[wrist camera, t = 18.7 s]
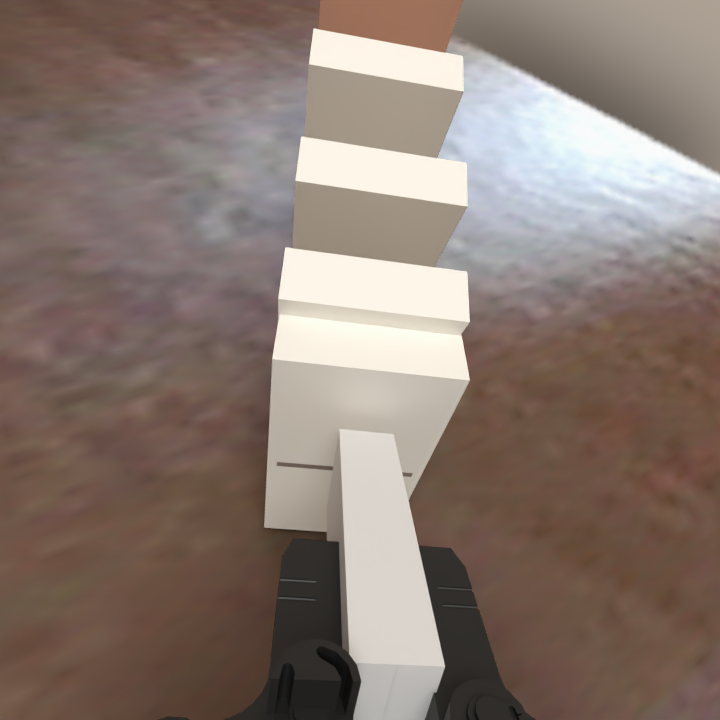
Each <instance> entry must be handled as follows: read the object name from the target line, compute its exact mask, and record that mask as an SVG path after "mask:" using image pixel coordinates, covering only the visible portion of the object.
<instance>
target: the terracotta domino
mask: <svg viewBox="0 0 720 720" xmlns="http://www.w3.org/2000/svg"><path fill="white" fill-rule="evenodd" d="M462 1H463V0H321V5H320V18H319V30H325V31H330V32H335V33H341V34H346V35H352V36H357V37H362V38H368V39H373V40H379V41H384V42H389V43H395V44H400V45H406V46H411V47H416V48H422V49H427V50H432V51H438V52H443V53H445V52H446V49H447V46H448V43H449V40H450V37H451V34H452V31H453V28H454V25H455V22H456V19H457V16H458V13H459V10H460V7H461V4H462Z"/></svg>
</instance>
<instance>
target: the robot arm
mask: <svg viewBox="0 0 720 720" xmlns="http://www.w3.org/2000/svg"><path fill="white" fill-rule="evenodd" d="M159 720H189V719H188V718H182V717H165V718H162V719H159ZM225 720H535V719H534V718H533V717H531V716H530V715H529V714H527V713H526V712H525V711H524V709H523V707H522V705H521V704H520V703H519V702H518V701H517V700H516V699H515V697H514V696H513V695H512V694H511V693H510V692H509V691H507V690H506V689H505V687H504V685H503V682H502V680H501V678H500V675H499V672H498V669H497V666H496V663H495V659H494V656H493V653H492V650H491V647H490V644H489V640H488V637H487V634H486V631H485V628H484V625H483V622H482V618H481V615H480V612H479V610H477V603H476V600H475V596H474V593H473V592H472V587H471V584H470V581H469V577H468V574H467V571H466V568H465V566H464V565H463V563H462V562H461V561H460V560H459V558H458V557H457V556H456V555H455V553H454V552H453V551H452V549H451V548H442V547H427V546H418V542H417V537H416V533H415V528H414V524H413V519H412V515H411V510H410V506H409V501H408V497H407V492H406V488H405V483H404V479H403V474H402V470H401V465H400V461H399V456H398V452H397V447H396V443H395V438H394V434H387V433H376V432H366V431H356V430H345V429H339V434H338V441H337V447H336V453H335V460H334V466H333V472H332V479H331V485H330V491H329V498H328V504H327V541H322V540H307V539H293V540H292V542H291V543H290V545H289V547H288V548H287V550H286V551H285V553H284V554H283V556H282V562H281V571H280V579H279V588H278V596H277V604H276V614H275V623H274V633H273V643H272V652H271V662H270V671H269V678H268V682H267V684H266V686H265V688H264V690H263V692H262V693H261V695H260V696H259V697H258V698H257V699H256V701H255V702H254V703H253V704H252V705H250V706H249V707H248V708H247V709H245V710H244V711H243V712H241V713H239V714H237V715H235V716H232V717H230V718H228V719H225Z"/></svg>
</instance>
